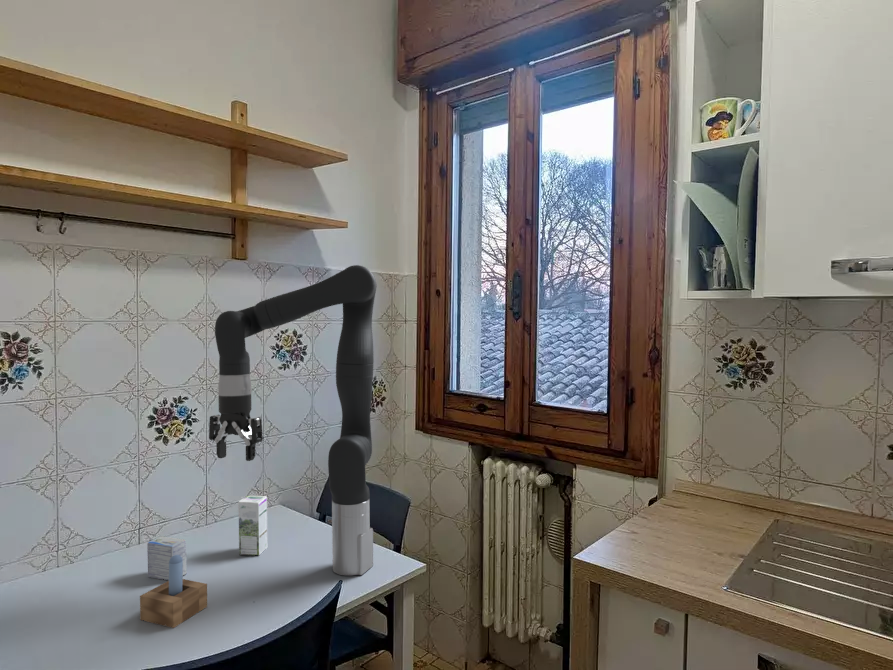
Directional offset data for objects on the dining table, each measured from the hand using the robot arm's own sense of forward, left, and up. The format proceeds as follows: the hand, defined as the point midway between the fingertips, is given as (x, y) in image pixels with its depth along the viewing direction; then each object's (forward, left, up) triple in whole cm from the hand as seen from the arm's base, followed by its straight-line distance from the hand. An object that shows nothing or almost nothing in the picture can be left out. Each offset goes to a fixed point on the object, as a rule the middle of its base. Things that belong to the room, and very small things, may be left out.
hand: (235, 459), depth 137 cm
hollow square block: (-1, +20, -28) cm, 35 cm away
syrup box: (+5, -12, -28) cm, 31 cm away
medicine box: (+15, +7, -28) cm, 33 cm away
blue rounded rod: (-1, +20, -28) cm, 35 cm away
